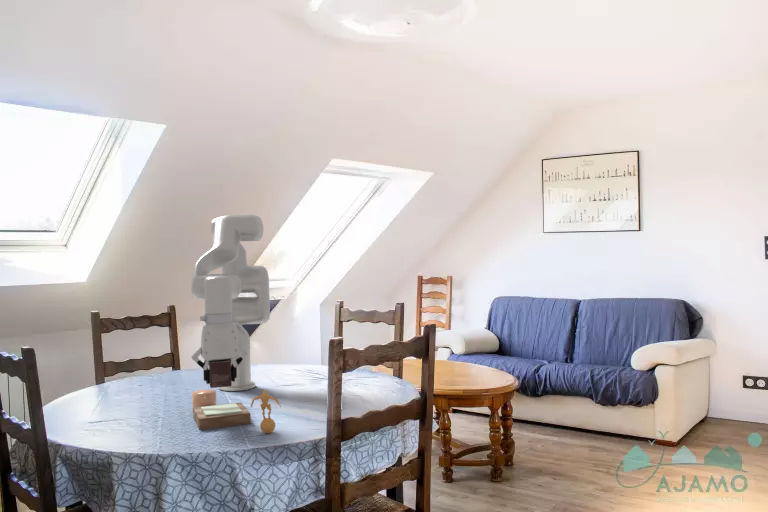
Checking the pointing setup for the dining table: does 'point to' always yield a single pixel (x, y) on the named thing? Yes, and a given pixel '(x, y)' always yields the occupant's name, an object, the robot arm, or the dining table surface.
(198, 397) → the peach rounded block
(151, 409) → the dining table surface
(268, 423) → the figurine
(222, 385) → the box
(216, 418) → the stand
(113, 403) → the dining table surface
